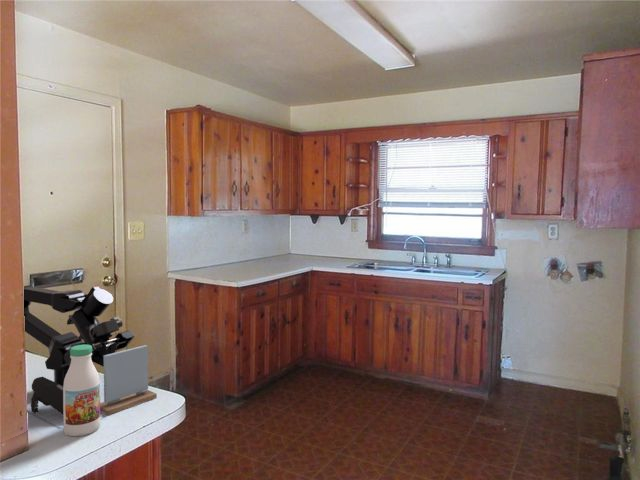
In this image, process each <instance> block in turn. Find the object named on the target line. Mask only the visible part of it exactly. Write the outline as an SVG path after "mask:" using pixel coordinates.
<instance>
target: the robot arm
mask: <svg viewBox="0 0 640 480" xmlns="http://www.w3.org/2000/svg"><path fill="white" fill-rule="evenodd" d="M23 286H24V316H25V331H24V332H25V333H26V334H28V335H29V336H31V337H32V338H33V339H35V340H36V341H38V342H39V343H41V344H42V345H43V346H45V347H46V348H47V349H48V352H49V353H48V354H49V357H47V359H46V360H45V363H44V364H45V367H46V369H47V370H51V371H53V382H56V383H58V384H59V385H61V386H62V387H63V385H64V379H65V376H66V374H67V372H68V370H69V367H70V364H71V358H70V348H71V347H73V346H77V345H91V346H92V355H91V360H92V363H93V364H94V363H95V364H97V365H99V366H101V367H102V368H104V355H108V354H112V353H116V351H120V350H122V349H125V348H127V347H128V346H129V344H130V343H131V342H132V340H133V339H134V338H135V335H134V333H133V331H132V330H125V331H120V328H122V327H123V322H122V319H121V318H120V316H115V317H112V318H110V320H107V321H99V319H98V317H101V316H102V314H103V313H105V311H106V310H107V309H108V308H109V307H110V306H111V304H112V303H113V301H114V297H113V294H111V292H109V291H107V290H105V289H103V288H100V287H99V285H97V286H92V287H91V288H90V289H89V292H88V293H87V294H85V293H84V291H82V290H81V289H71V290H62V291H61V290H60V291H59V290H53V289H49V288H48V289H47V288H42V287H36V286H33V285H23ZM32 303H36V304H41V305H46V306H50V307H51V308H52V309H53V310H54V311H57V312H59V313H62V314H65V313H70V312H73V313H72V314H69V315H68V318H67V321H66V324H67V326H68V325H74V326H75V328H76V329H77V331H78V334H79V336H78V335H77V334H76V333H74V332H72V331H70V332H66V333H63V334H62V333H60V332H58V331H57V330H56V329H54V328H53V327H51V326H50V325H48V324H47V323H46V322H45V321H43V320H41V319H39V317H36V316H35V315H34V314H32V313H31V312H30V305H31V304H32ZM118 331H120V332H118ZM114 332H118V333H117V334H116V335H115V336H114ZM112 336H114V338H112ZM110 338H112V339H110Z"/></svg>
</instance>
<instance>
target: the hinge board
mask: <svg viewBox="0 0 640 480" xmlns="http://www.w3.org/2000/svg"><path fill="white" fill-rule="evenodd" d="M154 398H155V399H157V392H154V391H152V390H150V389H147V392H145V393H143V394H140V395H136V393H135V394H132V395H129V396H126V397H123V398H120V401H119V402H116V403H114V404H111V405H108V403H105V402H104V401H103V402H100V413H103V414H105V415H107V416H110V415H113V414H116V413H120V412H122V411H124V410H127V409H129V407H130V408H133V407H135V406H137V405H141V404H143V402H144V403H146V402H149V401H151V400H155V399H154ZM132 406H133V407H132Z"/></svg>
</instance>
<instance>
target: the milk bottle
mask: <svg viewBox="0 0 640 480" xmlns="http://www.w3.org/2000/svg"><path fill="white" fill-rule="evenodd" d="M91 355H92V346H91V345H77V346H73V347H71V348H70V358H71V364H70V367H69V370H68V372H67V374H66V376H65V379H64V385H63V414H62V416H63V432H64V434H65V435H66V436H70V437H81V436H86V435H89V434H93V433H94V432H96V431H98V430H99V428H100V426H101V411H100V403H101V386H100V384H101V383H100V376H99V373H98V371H97V369H96V367H95V365H94V362H92V360H91Z"/></svg>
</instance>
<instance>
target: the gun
mask: <svg viewBox="0 0 640 480" xmlns="http://www.w3.org/2000/svg"><path fill="white" fill-rule="evenodd" d="M31 389H32V391H33V394H32V396H31V399H30V409H31V410H30V411H31V412H32V413H33V414H37V413H38V412H39V403H41V404H42V405H44V406H45V407H46V406H47V407H49V406H50V407H51V408H53V409H54V410H55V411H57V412H58V413H60V414H61V415H63V387H62V386H61V385H59V384H58V383H56V382H54V380H51V379H49V378H46V377H44V376H39V377H36V378H34V379H33V380H32V383H31ZM36 412H37V413H36Z"/></svg>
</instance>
